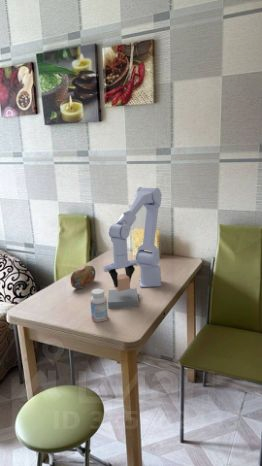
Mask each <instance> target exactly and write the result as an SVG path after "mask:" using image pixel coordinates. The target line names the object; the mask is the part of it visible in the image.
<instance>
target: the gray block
mask: <svg viewBox="0 0 262 466" xmlns="http://www.w3.org/2000/svg"><path fill="white" fill-rule="evenodd" d="M138 296H139V295H138V289H137V288H130V289H127V290H123V291H118V290H117V289H109V290H108V295H107V309H117V308H118V309H119V308H121V309H122V308H134V307H135V308H136V307H139V299H138Z"/></svg>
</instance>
